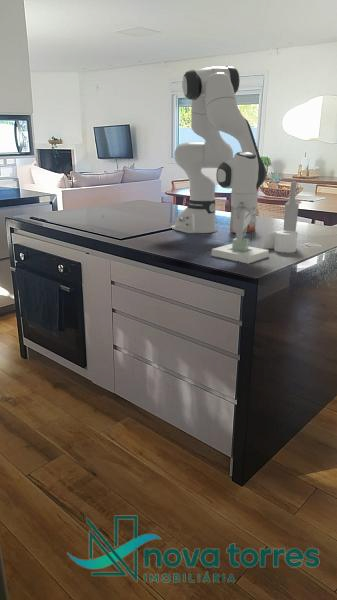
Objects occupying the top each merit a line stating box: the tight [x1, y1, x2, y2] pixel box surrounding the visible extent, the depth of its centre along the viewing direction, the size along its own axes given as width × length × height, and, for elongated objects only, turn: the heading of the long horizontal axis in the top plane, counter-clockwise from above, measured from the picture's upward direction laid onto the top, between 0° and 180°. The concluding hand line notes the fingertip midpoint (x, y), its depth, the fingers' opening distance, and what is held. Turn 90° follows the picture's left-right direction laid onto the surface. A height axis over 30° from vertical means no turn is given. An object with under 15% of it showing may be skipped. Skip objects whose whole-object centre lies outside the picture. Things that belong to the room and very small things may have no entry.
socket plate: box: [211, 243, 270, 264], centre depth 163 cm, size 16×13×2 cm
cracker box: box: [229, 188, 259, 234], centre depth 204 cm, size 14×6×21 cm, turn 140°
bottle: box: [282, 181, 300, 232], centre depth 175 cm, size 5×5×25 cm
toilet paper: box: [262, 229, 299, 254], centre depth 171 cm, size 8×11×7 cm
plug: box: [231, 237, 250, 253], centre depth 162 cm, size 5×4×6 cm
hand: (241, 239), depth 161 cm, fingers open, 8 cm apart
